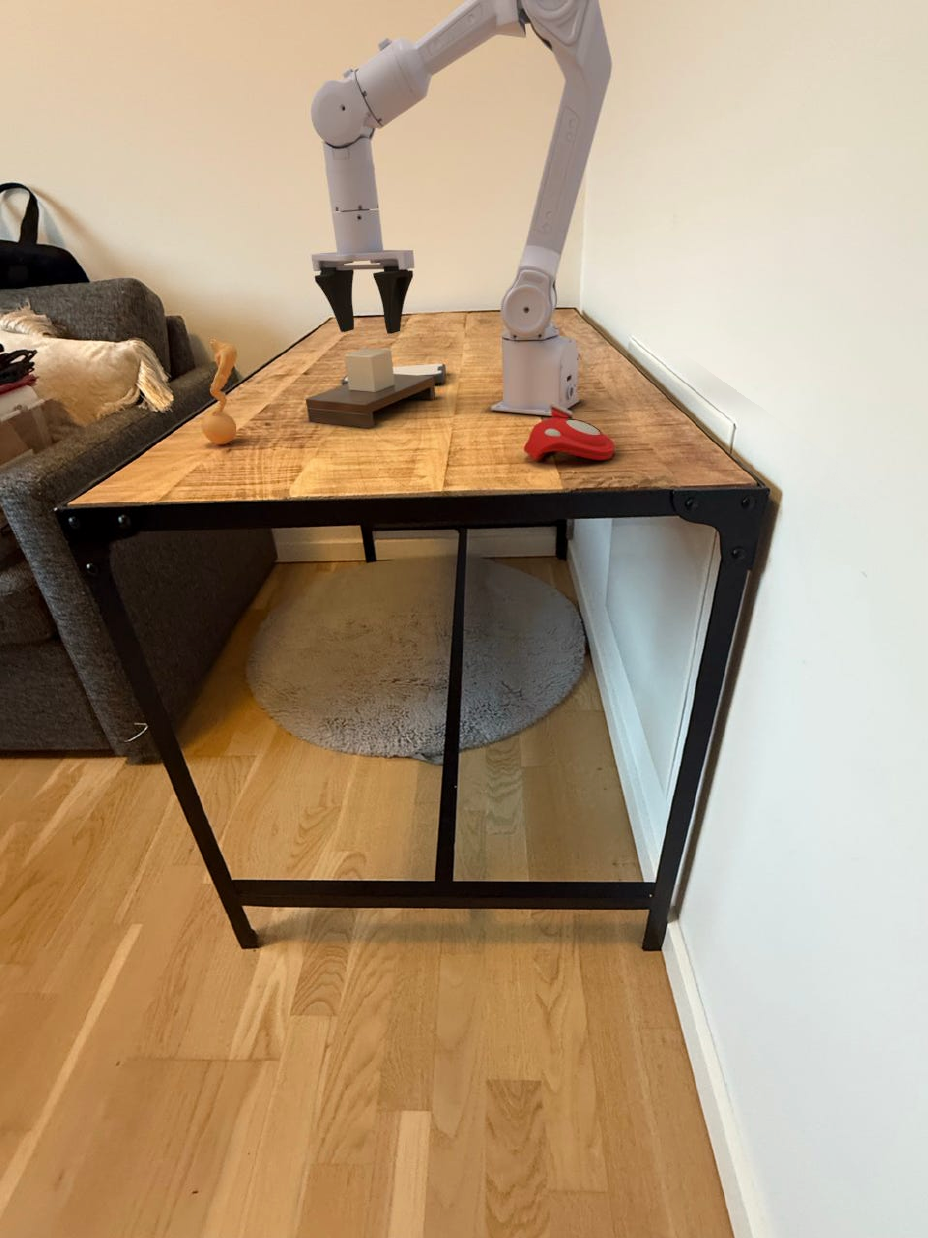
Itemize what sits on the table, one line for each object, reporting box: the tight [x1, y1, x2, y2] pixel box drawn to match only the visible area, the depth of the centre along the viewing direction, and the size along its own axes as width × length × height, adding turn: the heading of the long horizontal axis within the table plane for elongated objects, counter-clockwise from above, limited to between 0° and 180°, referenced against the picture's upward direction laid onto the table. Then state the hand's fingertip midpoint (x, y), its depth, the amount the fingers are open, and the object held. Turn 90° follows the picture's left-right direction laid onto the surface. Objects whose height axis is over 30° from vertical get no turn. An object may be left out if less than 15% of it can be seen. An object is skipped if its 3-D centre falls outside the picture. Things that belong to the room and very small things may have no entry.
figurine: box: [201, 338, 238, 445], centre depth 80 cm, size 8×6×12 cm
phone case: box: [341, 363, 447, 386], centre depth 107 cm, size 9×2×16 cm
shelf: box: [305, 374, 436, 429], centre depth 92 cm, size 10×16×3 cm, turn 150°
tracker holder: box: [523, 402, 616, 462], centre depth 72 cm, size 12×4×10 cm
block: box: [343, 348, 395, 392], centre depth 90 cm, size 4×4×4 cm
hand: (370, 331), depth 88 cm, fingers open, 7 cm apart
